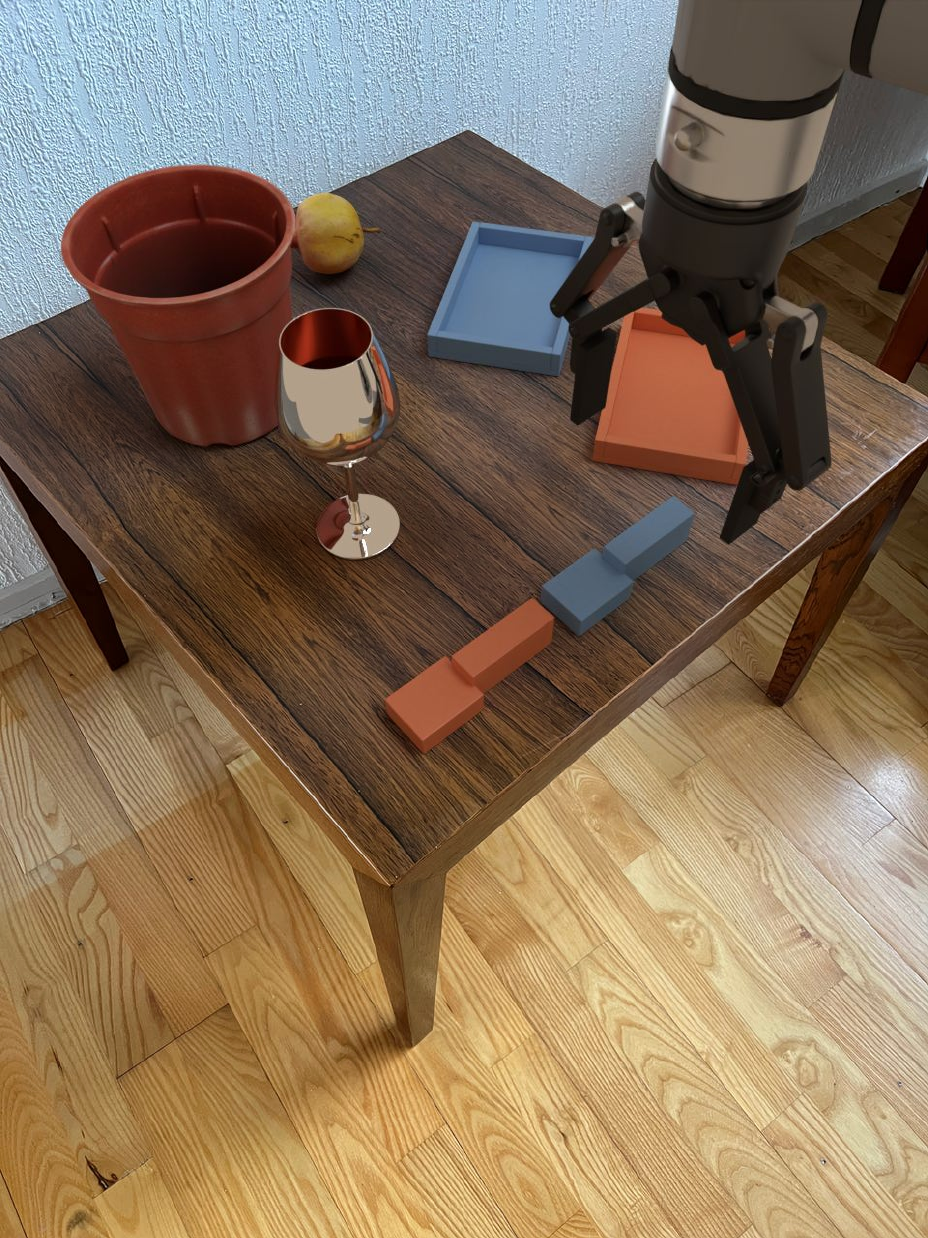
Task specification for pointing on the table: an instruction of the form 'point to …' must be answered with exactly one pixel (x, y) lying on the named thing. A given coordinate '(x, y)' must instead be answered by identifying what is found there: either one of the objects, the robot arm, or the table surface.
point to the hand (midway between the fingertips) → (659, 469)
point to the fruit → (328, 233)
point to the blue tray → (507, 299)
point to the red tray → (669, 405)
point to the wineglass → (339, 419)
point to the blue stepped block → (615, 567)
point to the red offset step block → (468, 676)
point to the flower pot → (192, 291)
